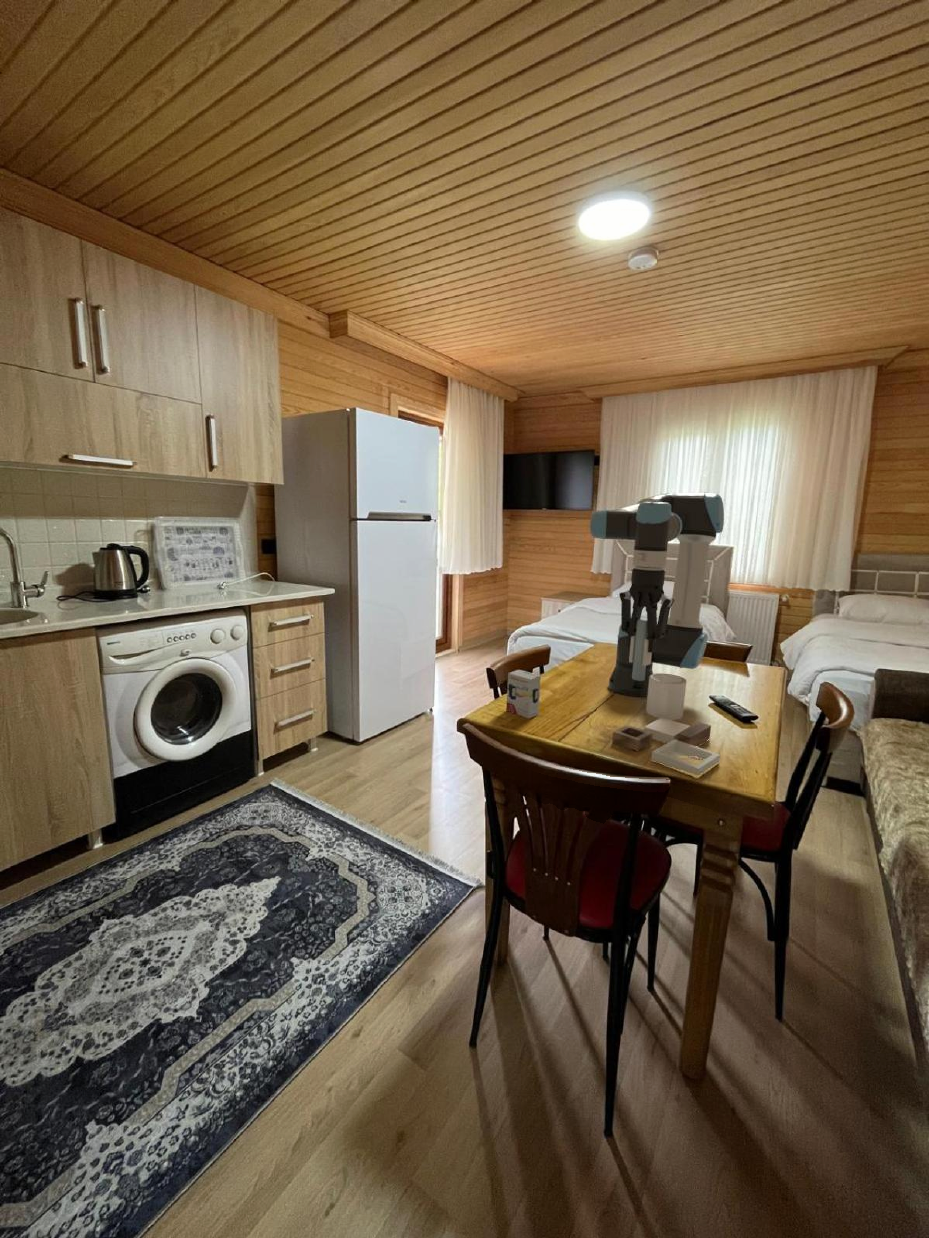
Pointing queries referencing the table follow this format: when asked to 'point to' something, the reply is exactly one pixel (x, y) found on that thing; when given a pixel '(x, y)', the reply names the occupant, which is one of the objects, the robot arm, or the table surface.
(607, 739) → the table surface
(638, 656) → the dowel
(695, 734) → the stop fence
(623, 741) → the socket block
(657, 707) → the mug
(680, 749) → the tray
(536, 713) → the ink box
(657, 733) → the white flat block
